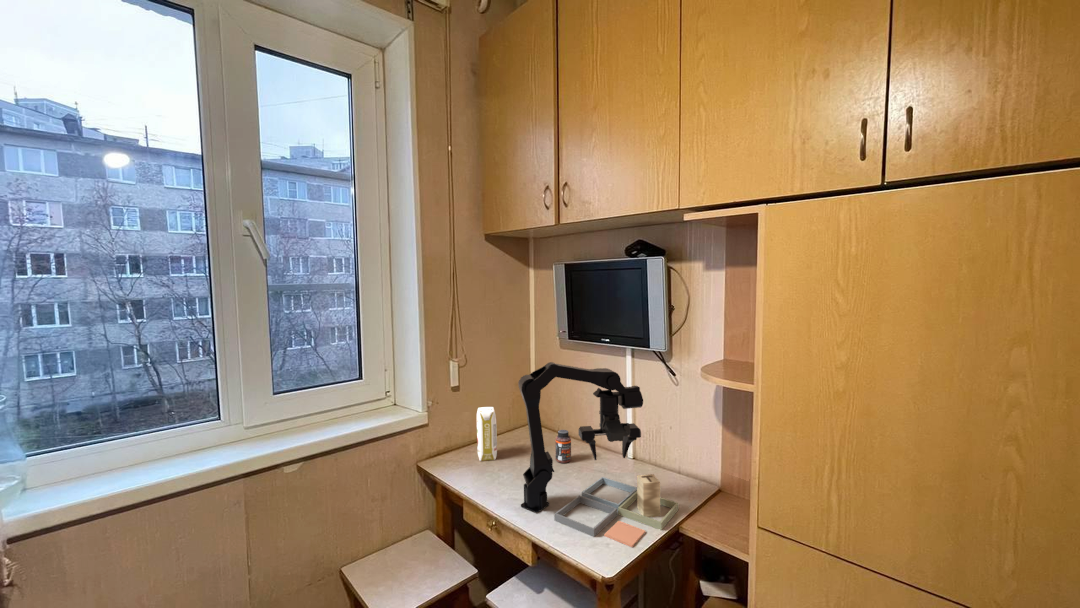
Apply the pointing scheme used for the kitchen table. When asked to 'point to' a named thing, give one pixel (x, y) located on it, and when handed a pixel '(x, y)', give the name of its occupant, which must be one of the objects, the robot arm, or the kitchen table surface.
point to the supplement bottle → (563, 447)
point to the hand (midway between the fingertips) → (609, 458)
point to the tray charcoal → (579, 526)
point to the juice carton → (486, 433)
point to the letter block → (648, 495)
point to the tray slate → (611, 483)
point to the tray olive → (647, 520)
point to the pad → (624, 533)
